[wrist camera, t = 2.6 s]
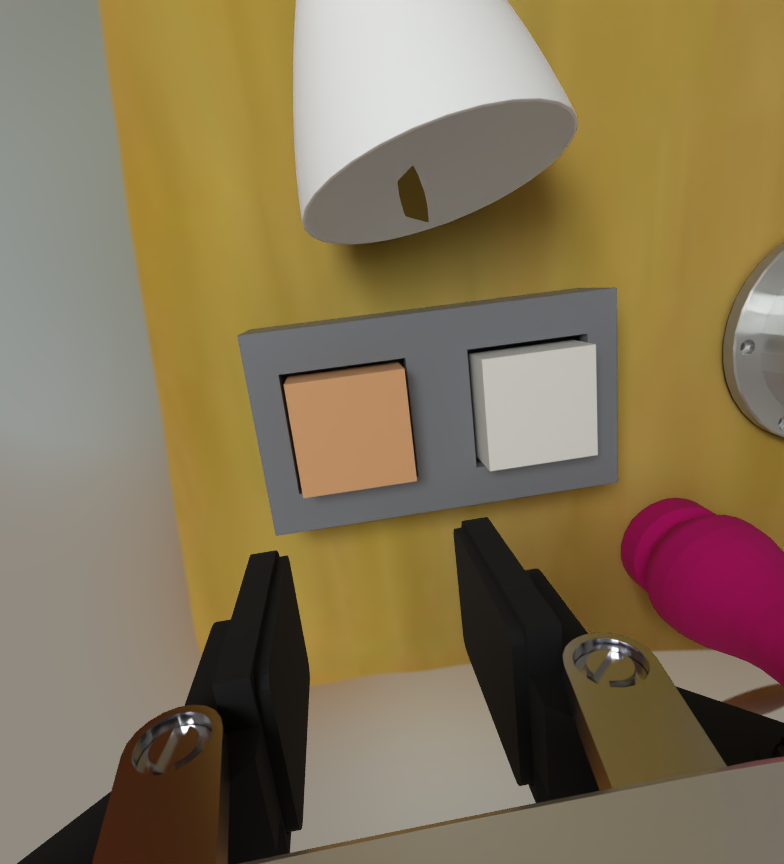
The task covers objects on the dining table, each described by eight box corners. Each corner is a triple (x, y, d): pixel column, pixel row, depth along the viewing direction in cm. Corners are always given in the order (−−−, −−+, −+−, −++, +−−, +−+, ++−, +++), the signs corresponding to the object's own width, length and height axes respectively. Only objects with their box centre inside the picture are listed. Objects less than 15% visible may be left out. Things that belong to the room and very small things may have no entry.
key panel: (579, 288, 30) (616, 287, 26) (583, 459, 32) (617, 482, 29) (249, 329, 28) (237, 335, 24) (282, 505, 31) (275, 535, 27)
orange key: (397, 361, 26) (404, 368, 24) (409, 465, 28) (417, 481, 26) (287, 376, 26) (283, 384, 24) (305, 481, 27) (303, 498, 25)
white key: (573, 339, 27) (595, 344, 25) (576, 441, 29) (597, 455, 26) (468, 353, 27) (481, 359, 24) (476, 456, 28) (490, 471, 26)
